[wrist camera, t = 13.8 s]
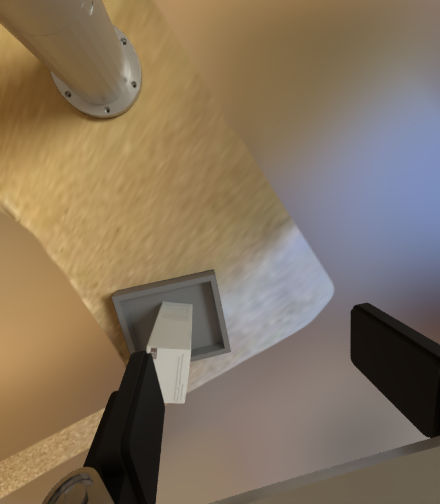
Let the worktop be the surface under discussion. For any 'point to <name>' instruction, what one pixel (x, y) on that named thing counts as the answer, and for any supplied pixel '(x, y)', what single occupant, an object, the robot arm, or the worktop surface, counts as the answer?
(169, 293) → the tray
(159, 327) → the skincare box
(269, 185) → the worktop surface
